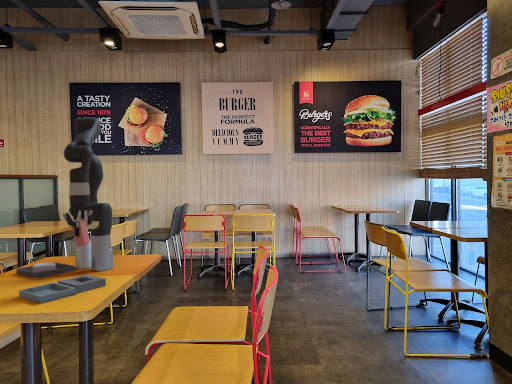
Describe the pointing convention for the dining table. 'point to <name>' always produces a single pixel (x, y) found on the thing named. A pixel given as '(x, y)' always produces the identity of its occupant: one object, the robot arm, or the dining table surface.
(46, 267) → the charger
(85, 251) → the milk bottle
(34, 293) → the tray
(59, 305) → the dining table surface
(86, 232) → the pink block
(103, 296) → the dining table surface
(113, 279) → the dining table surface
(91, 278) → the grey square-hole plate
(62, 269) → the frame
